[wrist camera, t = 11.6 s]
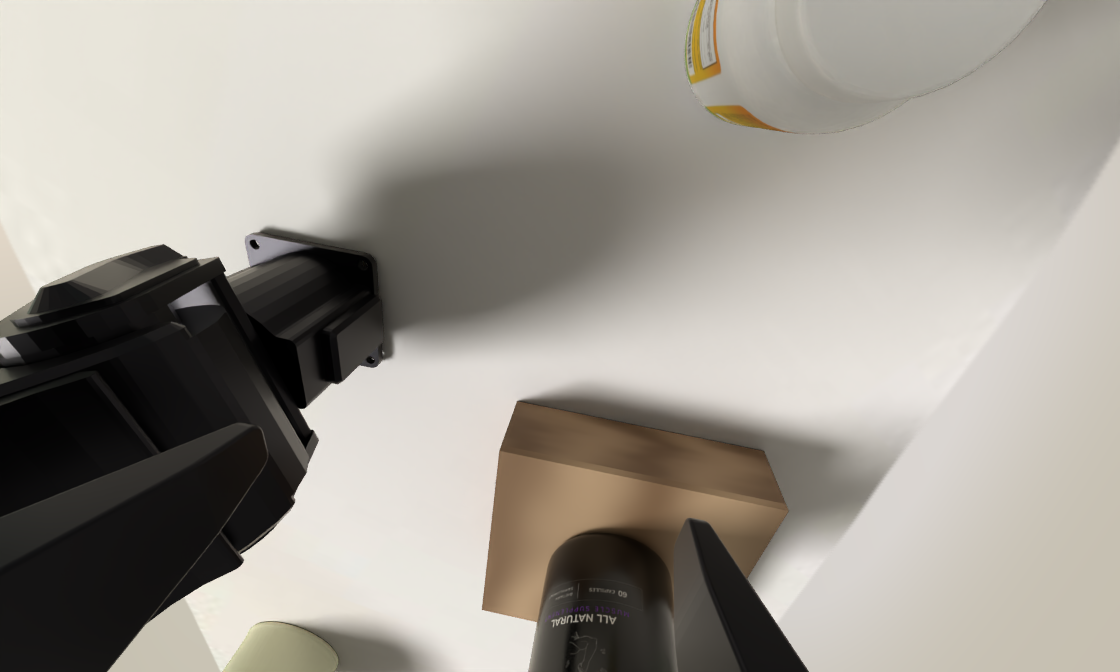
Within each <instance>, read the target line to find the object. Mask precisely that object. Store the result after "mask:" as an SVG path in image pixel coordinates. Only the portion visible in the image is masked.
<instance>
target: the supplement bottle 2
mask: <svg viewBox="0 0 1120 672" xmlns="http://www.w3.org/2000/svg"><path fill="white" fill-rule="evenodd" d="M1046 1H1047V0H697V2H696V5H695V7H694V9H693V12H692V14H691V17H690V20H689V23H688V27H687V31H686V37H685V45H684V61H685V70H686V74H687V78H688V82H689V84H690V87H691V89H692V91H693V93H694V95H695V97H696V98H697V100H698V101H699V102H700V104H701V105H702V106H703V107H704V108H705V109H706V110H707V111H708V112H710V113H711V114H712V115H714V116H715V117H717V118H719V119H721V120H723V121H726V122H729V123H732V124H735V125H740V126H748V127H756V128H762V129H769V130H775V131H782V132H789V133H800V134H825V133H833V132H840V131H845V130H848V129H851V128H855V127H858V126H861V125H864V124H866V123H869V122H871V121H874V120H876V119H878V118H880V117H882V116H884V115H886V114H887V113H889V112H891V111H893V110H894V109H896V108H898V107H899V106H901V105H902V104H904V103H905V102H906V101H908V100H909V99H911V98H914V97H918V96H922V95H925V94H928V93H930V92H933V91H936V90H939V89H941V88H944V87H946V86H948V85H950V84H952V83H954V82H956V81H958V80H960V79H962V78H964V77H965V76H967V75H969V74H971V73H972V72H974V71H975V70H976V69H978V68H979V67H981V66H982V65H984V64H985V63H986V62H988V61H989V60H991V59H992V58H993V57H994V56H996V55H997V54H998V53H999V52H1000V51H1002V50H1003V49H1004V48H1005V47H1006V46H1007V45H1008V44H1010V43H1011V42H1012V41H1013V40H1014V39H1015V38H1016V37H1017V36H1018V34H1019V33H1020V32H1021V31H1022V30H1023V29H1024V28H1025V27H1026V26H1027V25H1028V24H1029V23H1030V21H1031V20H1032V19H1033V18H1034V17H1035V15H1036V14H1037V13H1038V11H1039V10H1040V9H1041V7H1042V6H1043V5H1044V3H1045V2H1046Z"/></svg>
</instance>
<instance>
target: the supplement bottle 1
mask: <svg viewBox="0 0 1120 672" xmlns="http://www.w3.org/2000/svg"><path fill="white" fill-rule="evenodd" d="M528 672H678V669H677V659H676V650H675V638H674V599H673V590H672V581H671V576H670V573H669V570H668V568H667V566H666V564H665V563H664V561H663V560H662V559H661V557H660V556H659V555H658V554H657V553H656V552H655V551H653V550H652V549H651V548H649V547H648V546H646V545H645V544H643V543H641V542H639V541H637V540H635V539H632V538H629V537H626V536H623V535H618V534H612V533H589V534H584V535H580V536H577V537H574V538H571V539H569V540H568V541H566V542H564V543H563V544H562V545H560V546H559V547H558V548H557V549H556V550H555V552H554V553H553V554H552V556H551V558H550V560H549V563H548V567H547V572H546V577H545V582H544V587H543V593H542V598H541V604H540V609H539V615H538V620H537V626H536V631H535V637H534V642H533V648H532V654H531V659H530V665H529V670H528Z"/></svg>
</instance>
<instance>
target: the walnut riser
mask: <svg viewBox="0 0 1120 672" xmlns="http://www.w3.org/2000/svg"><path fill="white" fill-rule="evenodd" d="M787 513H788V508H787V506H786V503H785V501H784V498H783V496H782V494H781V491H780V489H779V486H778V484H777V482H776V479H775V477H774V474H773V472H772V470H771V467H770V465H769V462H768V460H767V458H766V455H765V453H764V451H761V450H756V449H751V448H746V447H741V446H736V445H731V444H726V443H721V442H716V441H711V440H706V439H701V438H696V437H692V436H687V435H682V434H677V433H672V432H667V431H662V430H657V429H652V428H647V427H642V426H637V425H632V424H627V423H623V422H618V421H613V420H608V419H603V418H598V417H593V416H588V415H583V414H578V413H573V412H568V411H563V410H558V409H554V408H549V407H544V406H539V405H534V404H529V403H524V402H519V401H517V403H516V406H515V409H514V412H513V414H512V417H511V420H510V423H509V426H508V428H507V431H506V434H505V437H504V440H503V442H502V445H501V448H500V451H499V460H498V469H497V478H496V487H495V496H494V505H493V514H492V523H491V532H490V541H489V550H488V560H487V569H486V578H485V587H484V596H483V605H482V610H485V611H490V612H494V613H499V614H503V615H508V616H512V617H517V618H521V619H526V620H530V621H535V622H537V620H538V615H539V609H540V604H541V598H542V593H543V587H544V582H545V577H546V572H547V567H548V563H549V560H550V558H551V556H552V554H553V553H554V552H555V550H556V549H557V548H558V547H559V546H560V545H562V544H563V543H564V542H566V541H568V540H569V539H571V538H574V537H577V536H580V535H584V534H589V533H612V534H618V535H623V536H626V537H629V538H632V539H635V540H637V541H639V542H641V543H643V544H645V545H646V546H648V547H649V548H651V549H652V550H653V551H655V552H656V553H657V554H658V555H659V556H660V557H661V559H662V560H663V561H664V563H665V564H666V566H667V568H668V570H669V573H670V576H671V581H672V590H673V599H674V546H675V542H676V540H677V537H678V535H679V533H680V531H681V529H682V526H683V524H684V522H685V520H686V519H687V518H695V519H700V520H704V521H707V522H708V523H709V524H710V525H711V526H712V528H713V529H714V531H715V532H716V534H717V535H718V537H719V538H720V540H721V541H722V543H723V544H724V546H725V547H726V549H727V550H728V552H729V553H730V555H731V556H732V558H733V559H734V561H735V562H736V564H737V565H738V566H739V568H740V569H741V571H742V572H743V574H744V575H745V577H746V578H748V576H749V574H750V573H751V571H752V569H753V568H754V566H755V565H756V563H757V561H758V560H759V558H760V557H761V555H762V553H763V552H764V550H765V548H766V547H767V545H768V544H769V542H770V540H771V539H772V537H773V536H774V534H775V532H776V531H777V529H778V527H779V526H780V524H781V523H782V521H783V519H784V518H785V516H786V515H787Z"/></svg>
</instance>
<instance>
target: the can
mask: <svg viewBox="0 0 1120 672" xmlns="http://www.w3.org/2000/svg"><path fill="white" fill-rule="evenodd" d="M337 666H338V656H337V654H336V652H335V651H334V650H333V648H332V647H331V646H330V645H329V644H328V643H326V642H325V641H324V640H323V639H321V638H320V637H318V636H316V635H315V634H313V633H311V632H309V631H307V630H304V629H302V628H299V627H297V626H293V625H289V624H285V623H280V622H263V623H259V624H256V625H254V626H253V627H252V628H251V629H250V630H249V631H248V634H247V636H246V638H245V639H244V641H243V642H242V644H241V645H240V647H239V648H238V650H237V651H236V653H235V654H234V656H233V657H232V658H231V660H230V661H229V663H228V664H227V666H226V667H225V669H224V670H223V671H222V672H334V671H335V670H336V668H337Z"/></svg>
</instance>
